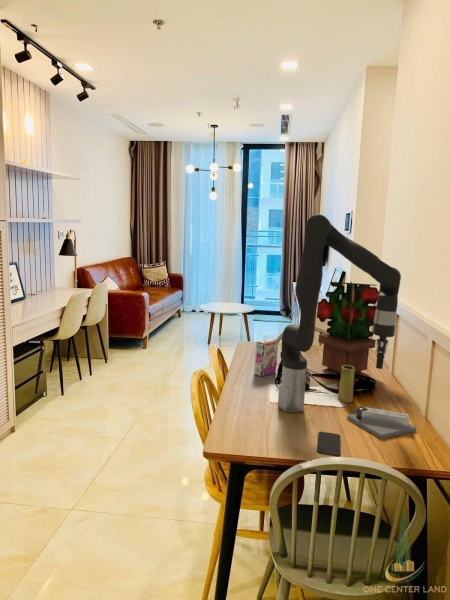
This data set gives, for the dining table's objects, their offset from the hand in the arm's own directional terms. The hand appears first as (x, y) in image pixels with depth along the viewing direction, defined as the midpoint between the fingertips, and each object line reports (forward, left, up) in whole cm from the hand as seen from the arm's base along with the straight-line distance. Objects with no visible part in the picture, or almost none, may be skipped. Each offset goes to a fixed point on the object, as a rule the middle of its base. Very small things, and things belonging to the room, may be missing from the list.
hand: (379, 365), depth 163 cm
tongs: (0, -4, -20) cm, 20 cm away
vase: (+4, +20, -22) cm, 30 cm away
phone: (-28, -9, -22) cm, 37 cm away
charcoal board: (0, -4, -21) cm, 22 cm away
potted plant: (+30, +51, -22) cm, 63 cm away
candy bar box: (-11, +60, -22) cm, 65 cm away
